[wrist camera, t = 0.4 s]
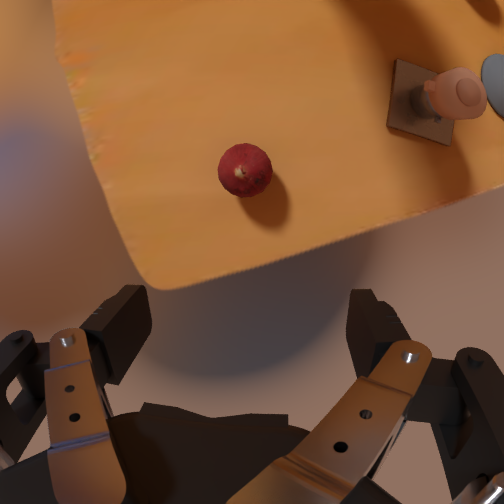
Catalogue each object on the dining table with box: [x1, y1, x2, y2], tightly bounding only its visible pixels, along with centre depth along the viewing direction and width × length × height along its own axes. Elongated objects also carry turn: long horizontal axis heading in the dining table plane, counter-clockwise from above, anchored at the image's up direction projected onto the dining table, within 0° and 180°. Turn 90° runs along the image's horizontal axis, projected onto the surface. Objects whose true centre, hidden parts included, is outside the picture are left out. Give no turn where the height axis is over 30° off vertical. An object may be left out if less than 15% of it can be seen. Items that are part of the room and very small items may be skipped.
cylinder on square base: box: [386, 59, 454, 146], centre depth 29 cm, size 9×9×7 cm
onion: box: [218, 143, 273, 197], centre depth 34 cm, size 6×6×8 cm
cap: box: [424, 67, 487, 120], centre depth 24 cm, size 5×7×5 cm
